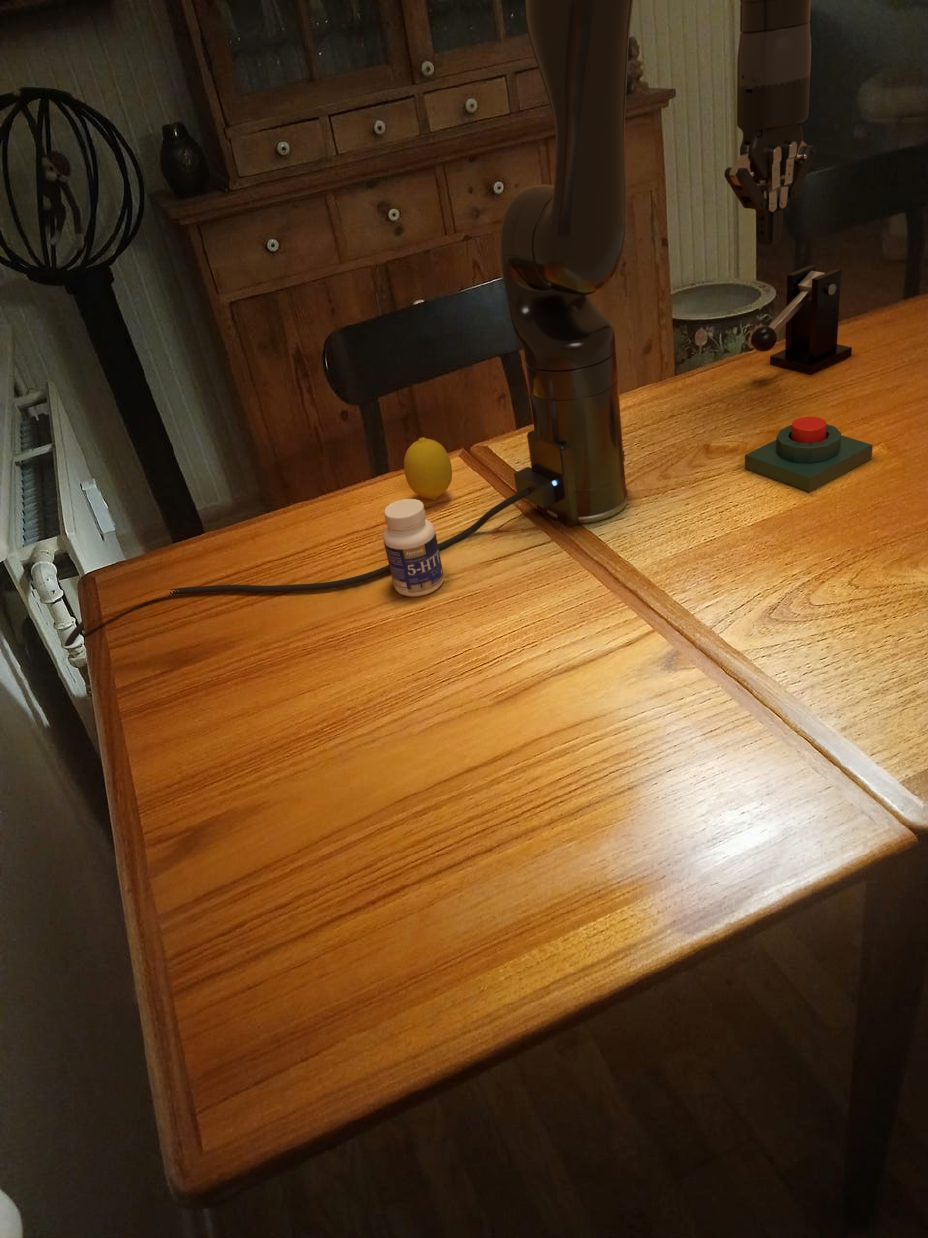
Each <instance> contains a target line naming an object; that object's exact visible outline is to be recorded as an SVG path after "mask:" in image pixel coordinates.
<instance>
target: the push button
mask: <svg viewBox="0 0 928 1238" xmlns="http://www.w3.org/2000/svg"><path fill="white" fill-rule="evenodd" d="M827 424H828V423H827V421H826V420H825V419H824V418H822V417H819V416H802V417H799V418H796V419H794V420H793V421H792V422H791V425H792V428H791V439H792V440H793V441H796V442H799V443H815V442H821V441H823V440H825V439H826V429H827Z"/></svg>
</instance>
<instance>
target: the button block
mask: <svg viewBox="0 0 928 1238" xmlns="http://www.w3.org/2000/svg"><path fill="white" fill-rule="evenodd" d="M791 428H792V424H790V425H787V426H786V427H784V428H781V429H780V430H778V433H777V435H776V438H775V439H774V440H772V441H770V442H768V443H766V444H764V445H762V446H759V447H758V448H755V449H754V450H752V451H750V452H748V453H745V455H744V468H745V470H748V471H751V472H754V473H756V474H759V475H762V476H764V477H766V478H770V479H773V480H776V481H778V482H781V483H783V484H786V485H788V486H792V487H794V488H797V489H799V490H802V491H805V492H808V493H810V492H812V491H814V490H816V489H817V488H820V487H821V486H823V485H826V484H827V483H829V482H830V481H832V480H835V479H837V478H838V477H840V476H842V475H843V474H846V473H847V472H849V471H851V470H853V469H855V468H856V467H859V466H861V465H863V464H865V463H866V462H868V461H870V460H872V458H873V447H874V446H873V444H871V443H868V442H865V441H861V440H859V439H855V438H852V437H848V436H846V435H843V434H842V432H841V431H840V430H839V429H838V428H837V427H836V426H834V425H831V424H828V423H827V429H826V439H825V440H823V441H821V442H815V443H799V442H796V441H793V440H792V439H791Z"/></svg>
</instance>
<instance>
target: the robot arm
mask: <svg viewBox="0 0 928 1238" xmlns="http://www.w3.org/2000/svg"><path fill="white" fill-rule="evenodd" d="M739 3H740V5H739V6H740V7H739V9H740V10H739V16H740V17H739V32H740V33H739V42H738V50H737V59H736V60H737V61H736V65H737V66H736V67H737V68H736V73H737V74H736V126H737V127H738V129H740V130H741V132H742V140H741V144H740V147H739V155H740V157H739V158H738V160H737V161H736V162H735V164H734V166H732V167H731V166H728V167H726V169H725V170H724V178H725V180H726V181H727V183H728V185H729V186H730V188H731V190H732V191H733V193H734V195H735V196H736V198H737V199H738V201H739V202H740V204H741V206H742V207H743V208H744V209H751V210H754V211H755V212H756V239H757V242H758V243H759V245H764V246H772V245H774V244H778V243H780V242H781V240H782V234H783V230H784V209H785V208H786V206H787V205H788V202H789V200H791V199H796V198H797V197H798V194H799V192H800V190H801V187H802V186H803V183H804V181H805V179H806V177H807V175H808V173H809V171H810V168H811V166H812V164H813V162H814V159H815V157H816V155H817V153H818V149H817V146H816V145H808V144H807V143H806V142H805V141H803V139H804V132H803V128H802V123H803V122H805V121H807V119H808V118H809V111H810V89H811V68H812V67H811V66H812V65H811V64H812V37H811V23H810V21H811V7H812V5H811V3H812V0H739ZM633 5H634V0H524V16H525V17H524V20H525V25H526V30H527V36H528V40H529V44H530V47H531V51H532V54H533V56H534V60H535V63H536V65H537V69H538V72H539V75H540V77H541V80H542V82H543V85H544V88H545V91H546V94H547V98H548V101H549V105H550V108H551V113H552V117H553V123H554V125H553V126H554V134H555V136H554V137H555V154H554V155H555V157H554V179H553V180H554V181H553V184H546V183H544V184H543V183H540V184H534V185H530V186H527V187H525V188H523V189H522V190H520V191H519V192H517V193H516V194H515V195H514V196H513V197H512V198H511V199H510V202H509V203H508V205H507V207H506V209H505V211H504V213H503V217H502V220H501V224H500V230H499V254H500V262H501V270H502V275H503V281H504V282H503V283H504V286H505V291H506V297H507V303H508V308H509V313H510V319H511V325H512V327H513V331H514V333H515V336H516V337H517V339H518V341H519V343H520V344H521V347H522V349H523V353H524V360H525V368H526V376H527V385H528V392H529V399H530V409H531V416H532V423H533V429H532V430H529V431H528V432H527V435H526V438H527V445H528V452H529V459H530V466H531V467H529V466H527V467H525V468H522V469H520V470H518V471H516V472H514V473H513V477H514V484H515V490H516V493H515V494H513V495H511V496H510V497H508V498H506V499H504V500H503V501H502V502H500V503H498V504H496V505H495V506H494V507H492V508H490V509H489V510H488V511H486V512H485V513H484V514H483V515H482V516H481V517H480V518H479V519H478V520H477V521H476V522H474V523H473V524H472V525H470V526H469V527H468V528H466V529H464V530H463V531H461V532H459V533H457V534H456V535H454V536H452V537H450V538H448V539H446V540H444V541H442V542H438V548H439V552H441V551H443V550H445V549H447V548H449V547H451V546H453V545H455V544H457V543H459V542H460V541H462V540H464V539H466V538H468V537H469V536H471V535H472V534H474V533H475V532H477V531H478V530H479V529H481V528H482V527H483V526H484V525H485V524H486V523H487V522H488V521H489V520H491V518H493V517H494V516H496V515H497V514H499V513H500V512H501V511H503V510H504V509H506V508H508V507H509V506H512V505H513V504H515V503H517V502H519V501H520V500H522V499H524V500H527V501H529V502H531V503H532V504H535V505H536V510H537V511H538V512H540V513H542V514H544V515H546V516H547V517H549V518H551V519H553V520H555V521H557V522H558V523H561V524H562V525H565V526H567V527H568V528H572V527H574V526H577V525H580V524H588V523H595V522H599V521H602V520H605V519H608V518H610V517H613V516H615V515H617V514H618V513H620V512H621V511H622V510H623V509H624V508H625V507H626V506H627V504H628V502H629V501H628V500H629V499H628V498H629V497H628V489H627V484H626V469H625V462H626V455H625V454H626V453H625V450H624V443H623V429H622V416H621V402H620V392H619V391H620V389H619V373H618V361H617V349H616V337H615V336H616V335H615V328H614V325H613V323H612V321H611V319H610V318H609V317H608V316H607V315H606V314H605V313H603V311H602V310H600V308H598V307H597V306H596V304H595V303H594V302H593V301H592V298H591V297H590V296H589V295H593V294H596V293H597V292H599V291H600V290H602V289H603V288H604V287H606V286H607V284H608V283H609V282H610V281H611V279H612V278H613V276H614V275H615V273H616V271H617V269H618V268H619V264H620V262H621V258H622V254H623V250H624V245H625V239H626V238H625V237H626V225H627V224H626V221H627V220H626V219H627V208H626V207H627V206H626V205H627V204H626V203H627V201H626V196H627V195H626V137H625V136H626V106H627V88H628V87H627V86H628V69H629V68H628V67H629V49H630V48H629V47H630V33H631V22H632V14H633ZM388 573H391V571H390V567H389V564H387V565H385V566H383V567H380V568H377V569H374V570H372V571H369V572H366V573H363V574H359V575H355V576H352V577H348V578H343V579H337V580H333V581H327V582H326V581H323V582H316V583H314V582H313V583H297V584H296V583H295V584H278V585H277V584H275V585H259V584H258V585H256V584H217V585H216V584H215V585H214V584H213V585H202V586H201V585H199V586H186V587H176V588H171V589H168V590H175V591H176V592H175V591H173V594H172V593H171V592H170V594H172V596H180V595H192V594H193V595H194V594H209V593H211V594H212V593H228V592H229V593H233V592H235V593H236V592H237V593H264V594H265V593H268V594H269V593H271V594H272V593H290V592H291V593H294V592H295V593H296V592H311V591H312V592H313V591H323V590H324V591H325V590H333V589H338V588H344V587H347V586H348V587H349V586H351V585H356V584H359V583H363V582H366V581H370V580H373V579H375V578H378V577H381V576H383V575H386V574H388ZM177 590H178V591H179V592H178V591H177ZM174 594H175V595H174ZM177 594H178V595H177ZM172 596H170V595H169V596H168V597H172ZM85 619H86V618H84V619H83V620H84V622H85ZM83 620H82V621H80V622H79V624H77V626H75V628H74V629H72V632H70V634H69V635H68V637H67V639H66V641H65V642H64V647H65V648H66V647H70V646H71V645H73V644H75V641H76V640H77V638H78V637H79V636H80V635H81V633H82V632H83V631H85V629H84V628H83V627H84V626H83Z"/></svg>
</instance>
